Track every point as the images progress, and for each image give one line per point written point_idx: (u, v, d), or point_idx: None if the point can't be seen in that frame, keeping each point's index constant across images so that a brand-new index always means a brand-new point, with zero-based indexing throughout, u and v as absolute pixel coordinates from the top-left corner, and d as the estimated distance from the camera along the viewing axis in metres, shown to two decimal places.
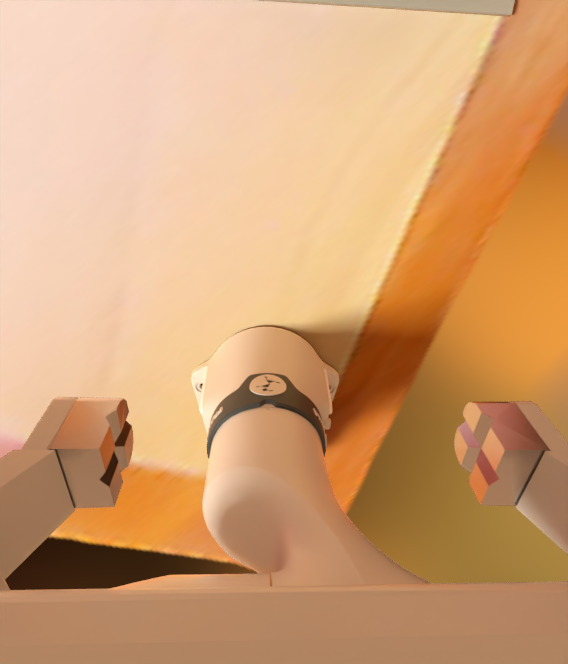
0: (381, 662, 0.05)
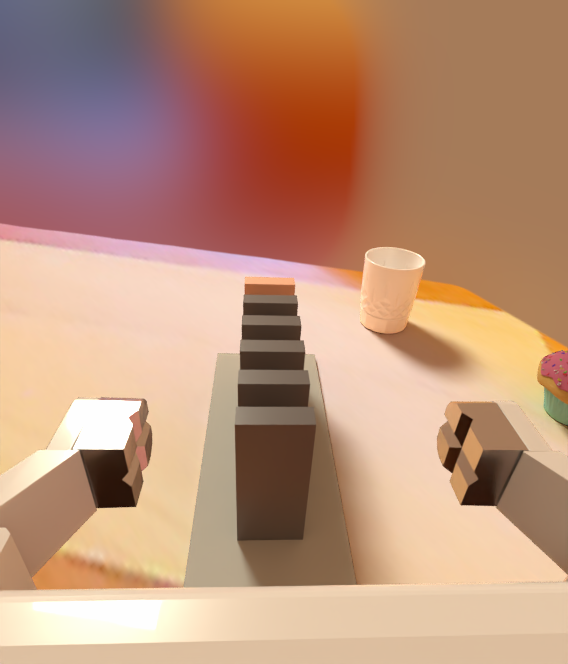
0: (381, 662, 0.05)
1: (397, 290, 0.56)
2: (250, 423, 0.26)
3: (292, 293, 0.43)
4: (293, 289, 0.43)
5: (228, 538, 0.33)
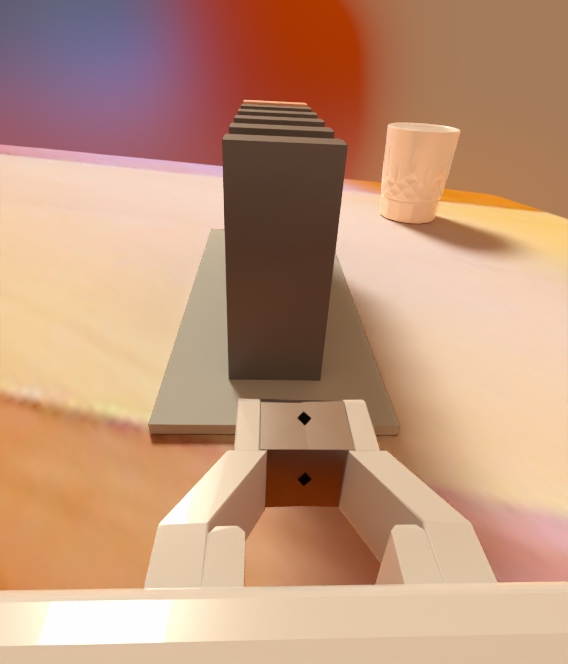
0: (381, 662, 0.05)
1: (427, 161, 0.46)
2: (246, 141, 0.17)
3: None
4: None
5: (217, 376, 0.23)
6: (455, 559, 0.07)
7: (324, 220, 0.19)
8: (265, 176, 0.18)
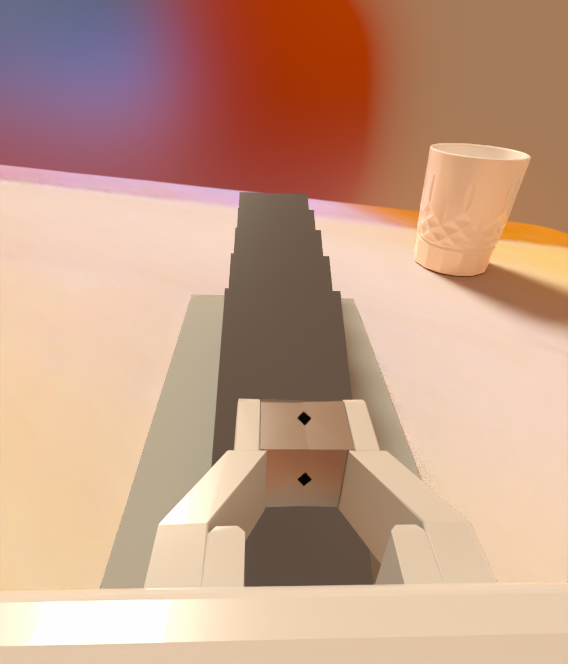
0: (381, 662, 0.05)
1: (486, 198, 0.34)
2: None
3: None
4: None
5: None
6: (455, 559, 0.07)
7: (331, 352, 0.17)
8: (265, 314, 0.18)
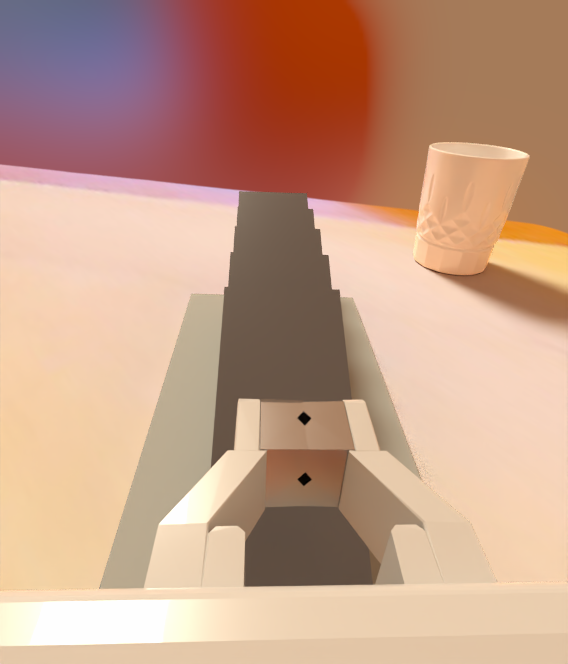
0: (381, 662, 0.05)
1: (486, 197, 0.34)
2: None
3: None
4: None
5: None
6: (455, 559, 0.07)
7: (330, 350, 0.17)
8: (264, 313, 0.18)
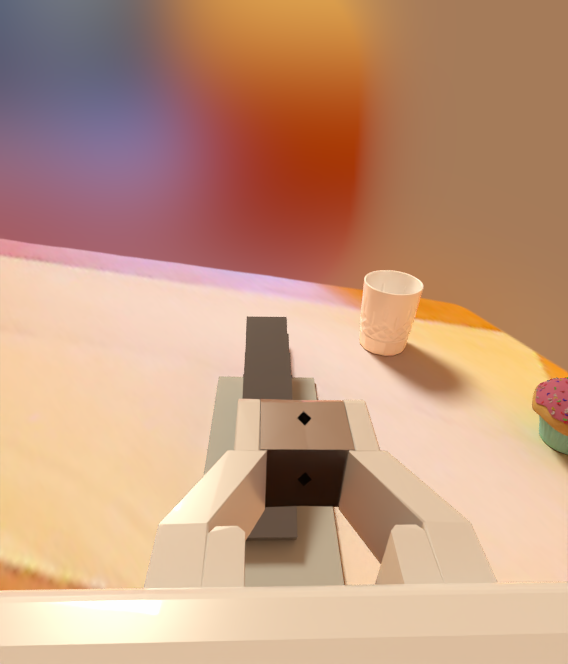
0: (381, 662, 0.05)
1: (395, 314, 0.57)
2: None
3: None
4: None
5: None
6: (455, 559, 0.07)
7: None
8: None
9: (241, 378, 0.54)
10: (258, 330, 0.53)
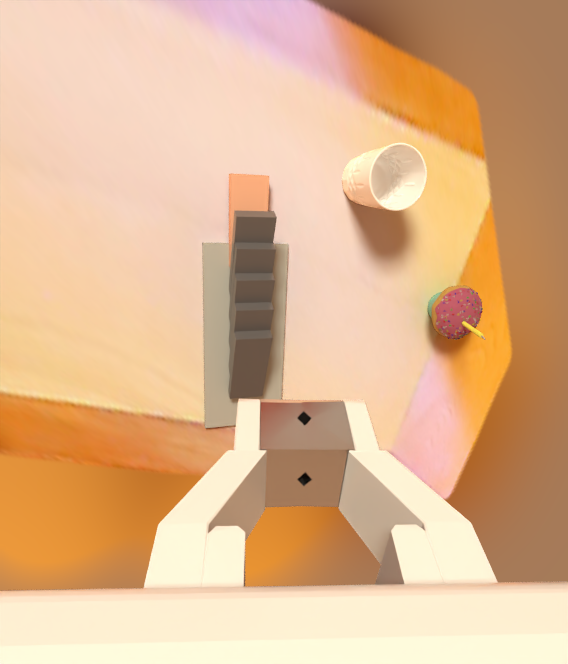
0: (381, 662, 0.05)
1: None
2: (242, 338, 0.57)
3: (267, 183, 0.56)
4: (268, 180, 0.56)
5: (224, 405, 0.66)
6: (455, 559, 0.06)
7: (265, 354, 0.60)
8: (247, 346, 0.58)
9: (224, 245, 0.59)
10: (246, 232, 0.53)
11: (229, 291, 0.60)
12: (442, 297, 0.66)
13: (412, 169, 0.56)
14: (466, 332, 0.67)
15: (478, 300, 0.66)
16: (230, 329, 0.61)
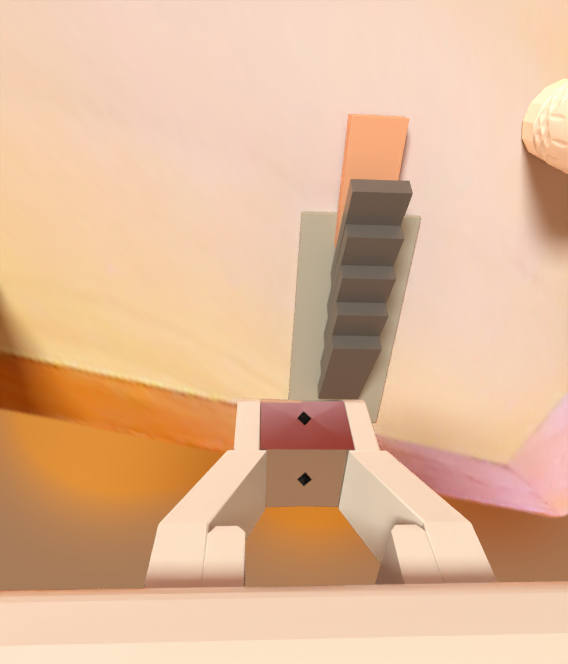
0: (381, 662, 0.05)
1: None
2: (342, 347, 0.44)
3: (404, 131, 0.37)
4: (406, 125, 0.37)
5: None
6: (455, 559, 0.06)
7: (368, 364, 0.46)
8: (347, 355, 0.45)
9: (330, 217, 0.43)
10: (364, 211, 0.37)
11: (331, 277, 0.45)
12: None
13: None
14: None
15: None
16: (327, 325, 0.47)
